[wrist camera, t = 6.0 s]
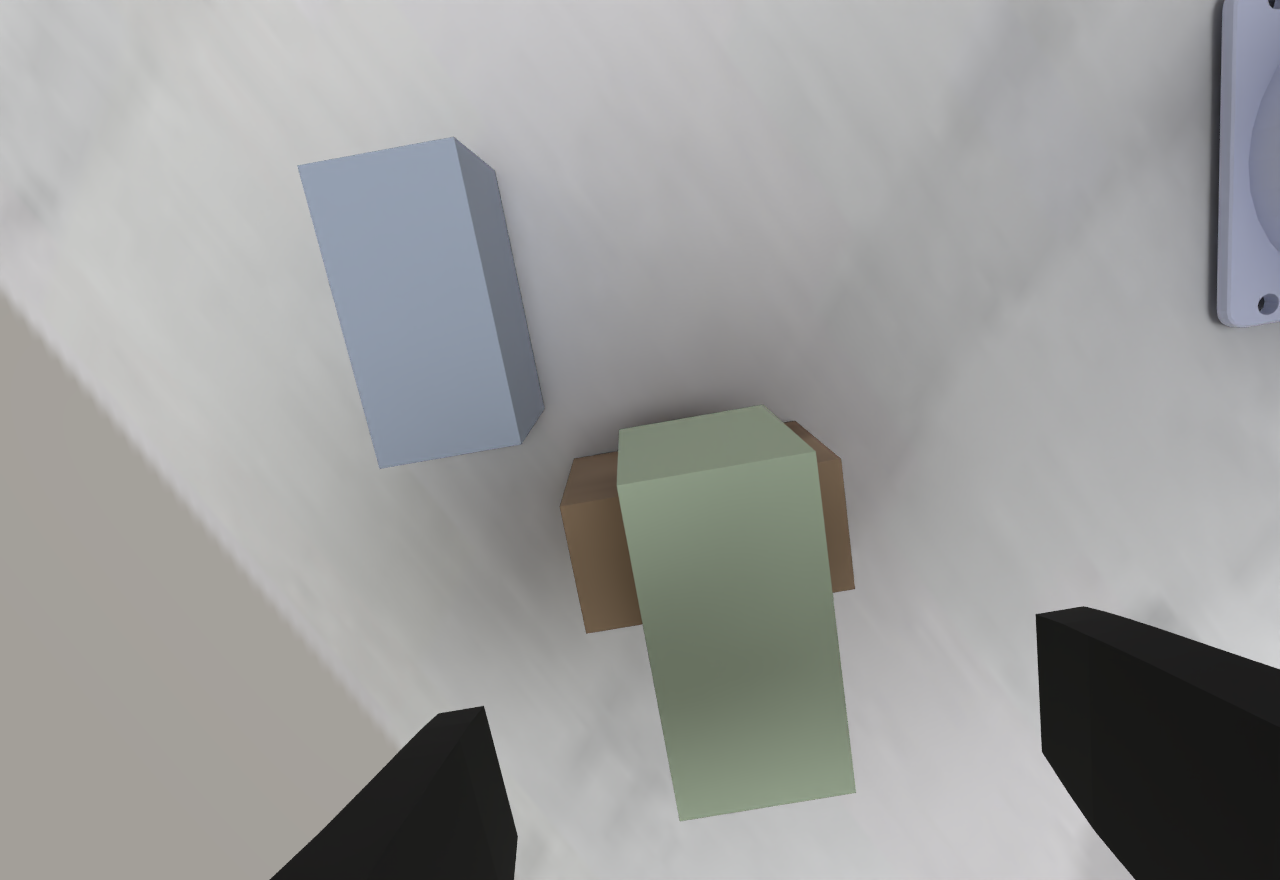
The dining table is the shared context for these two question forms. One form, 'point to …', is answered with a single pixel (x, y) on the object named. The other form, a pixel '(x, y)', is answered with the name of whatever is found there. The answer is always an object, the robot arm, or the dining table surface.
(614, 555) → the walnut brick
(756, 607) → the sage brick
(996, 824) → the dining table surface
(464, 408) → the slate brick
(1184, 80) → the dining table surface
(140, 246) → the dining table surface
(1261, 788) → the robot arm
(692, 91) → the dining table surface
